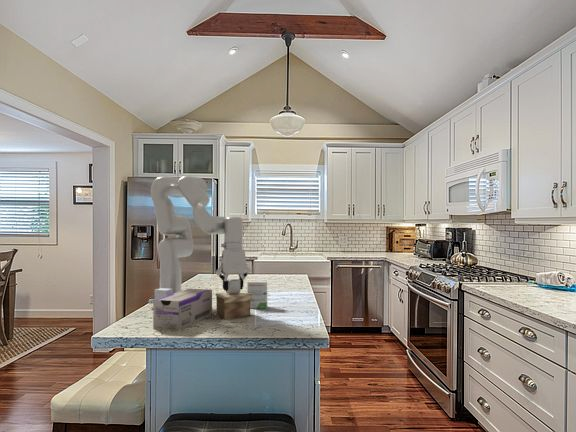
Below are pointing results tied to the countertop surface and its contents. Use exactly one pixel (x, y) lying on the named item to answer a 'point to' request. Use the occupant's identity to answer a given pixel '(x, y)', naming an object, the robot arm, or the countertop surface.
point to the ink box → (258, 293)
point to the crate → (232, 309)
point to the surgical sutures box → (181, 309)
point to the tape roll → (233, 286)
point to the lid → (235, 296)
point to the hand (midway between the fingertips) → (233, 289)
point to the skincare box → (162, 292)
